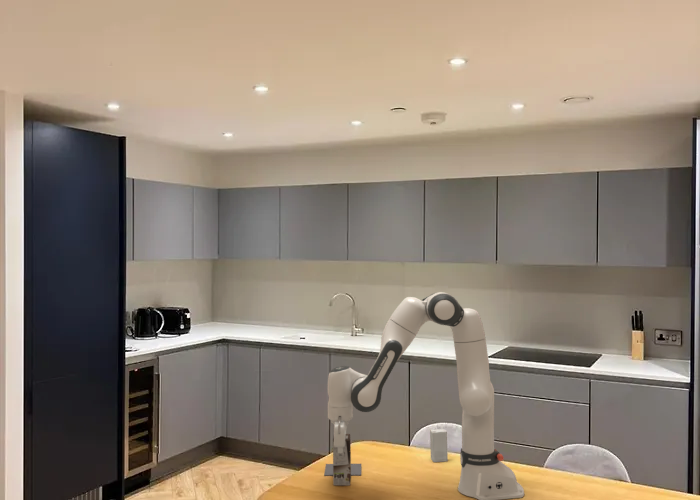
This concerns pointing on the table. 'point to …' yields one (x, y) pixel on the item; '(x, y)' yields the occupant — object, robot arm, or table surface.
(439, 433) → the skincare box
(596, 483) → the table surface
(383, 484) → the table surface
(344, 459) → the coffee box
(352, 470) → the mat
